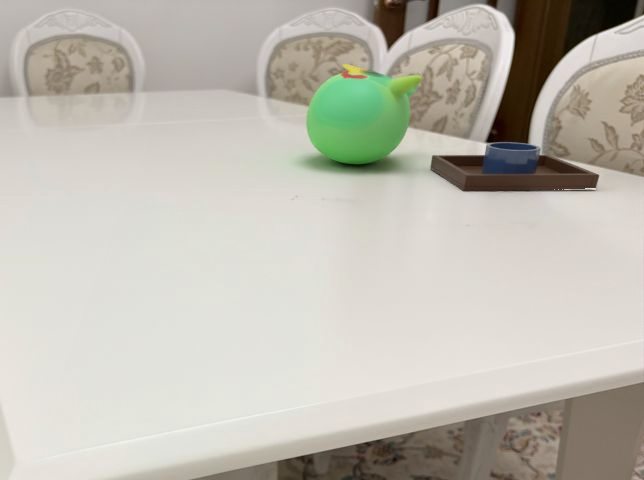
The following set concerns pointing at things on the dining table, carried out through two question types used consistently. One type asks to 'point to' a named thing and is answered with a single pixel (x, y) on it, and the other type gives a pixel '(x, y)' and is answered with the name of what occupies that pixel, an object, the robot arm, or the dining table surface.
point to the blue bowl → (510, 158)
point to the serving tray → (512, 175)
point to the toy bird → (360, 115)
